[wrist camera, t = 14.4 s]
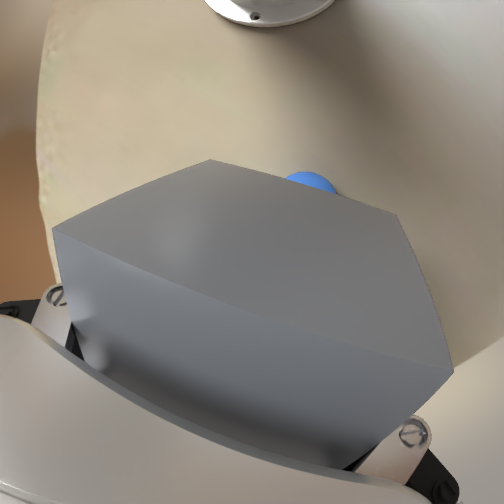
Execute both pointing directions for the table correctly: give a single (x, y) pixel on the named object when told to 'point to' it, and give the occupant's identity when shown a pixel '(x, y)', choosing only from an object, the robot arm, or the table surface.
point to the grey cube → (256, 309)
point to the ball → (312, 181)
